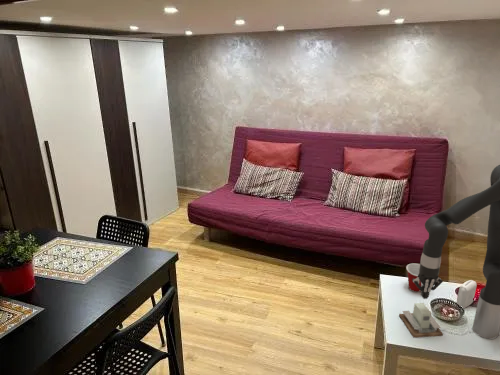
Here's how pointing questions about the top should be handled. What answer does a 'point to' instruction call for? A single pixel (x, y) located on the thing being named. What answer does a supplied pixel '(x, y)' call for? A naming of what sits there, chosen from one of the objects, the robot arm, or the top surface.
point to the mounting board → (414, 332)
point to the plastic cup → (413, 276)
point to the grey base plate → (431, 329)
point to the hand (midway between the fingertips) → (424, 297)
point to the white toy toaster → (466, 293)
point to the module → (422, 315)
